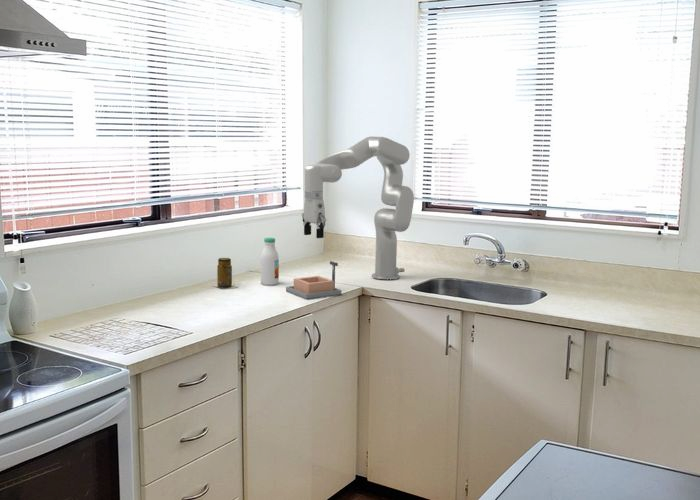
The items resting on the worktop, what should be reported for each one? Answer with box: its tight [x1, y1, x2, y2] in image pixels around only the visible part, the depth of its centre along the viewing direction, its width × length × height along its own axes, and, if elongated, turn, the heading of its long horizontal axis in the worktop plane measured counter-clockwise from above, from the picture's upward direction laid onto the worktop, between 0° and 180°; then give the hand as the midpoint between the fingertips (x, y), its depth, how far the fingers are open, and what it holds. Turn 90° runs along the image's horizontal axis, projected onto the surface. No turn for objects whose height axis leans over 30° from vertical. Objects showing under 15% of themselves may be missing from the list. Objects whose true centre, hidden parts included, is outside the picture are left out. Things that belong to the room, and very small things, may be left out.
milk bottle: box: [260, 237, 280, 286], centre depth 329 cm, size 8×8×20 cm
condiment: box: [212, 257, 237, 290], centre depth 322 cm, size 7×8×12 cm
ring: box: [293, 275, 334, 294], centre depth 314 cm, size 12×12×5 cm
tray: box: [285, 285, 342, 300], centre depth 313 cm, size 17×17×2 cm
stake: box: [329, 260, 339, 288], centre depth 323 cm, size 1×5×11 cm, turn 34°
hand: (313, 236), depth 317 cm, fingers open, 9 cm apart
